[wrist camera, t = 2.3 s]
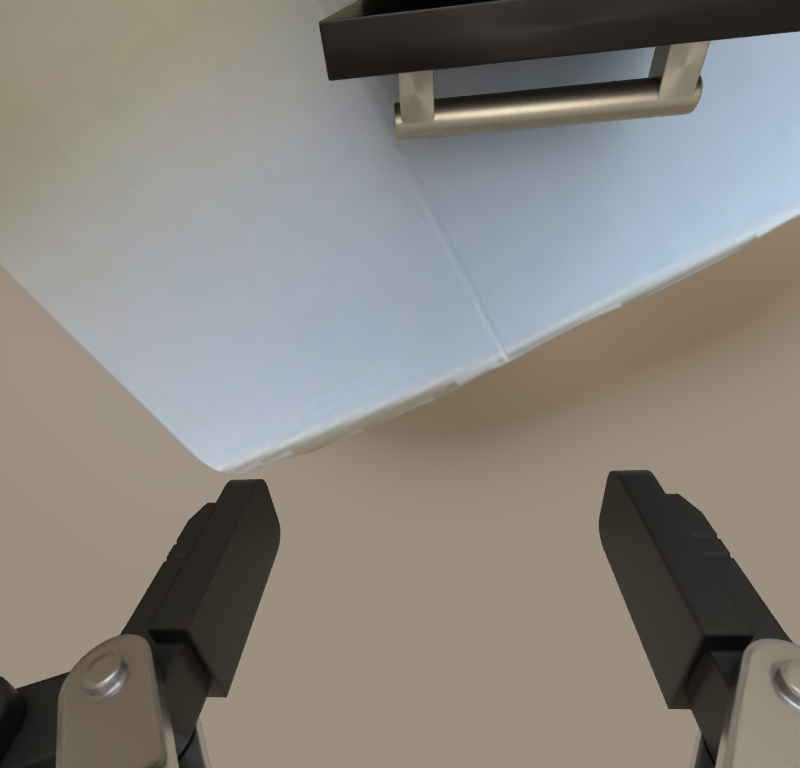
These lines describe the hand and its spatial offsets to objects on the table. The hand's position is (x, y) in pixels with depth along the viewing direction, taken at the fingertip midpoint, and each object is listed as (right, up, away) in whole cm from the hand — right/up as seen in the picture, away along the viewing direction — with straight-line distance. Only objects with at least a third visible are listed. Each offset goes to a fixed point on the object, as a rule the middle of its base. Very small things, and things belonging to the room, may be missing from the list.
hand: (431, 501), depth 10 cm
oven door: (+5, +22, +14) cm, 27 cm away
